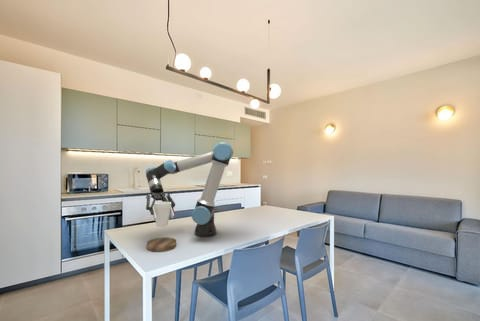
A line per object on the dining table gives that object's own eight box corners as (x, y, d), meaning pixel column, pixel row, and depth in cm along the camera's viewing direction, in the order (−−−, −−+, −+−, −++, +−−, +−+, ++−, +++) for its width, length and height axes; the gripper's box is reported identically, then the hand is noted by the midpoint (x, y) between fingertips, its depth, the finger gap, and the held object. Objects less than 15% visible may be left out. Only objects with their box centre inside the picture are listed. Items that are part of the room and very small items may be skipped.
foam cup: (153, 228, 123) (154, 204, 124) (152, 224, 132) (153, 202, 132) (171, 226, 127) (172, 203, 128) (169, 222, 136) (170, 201, 136)
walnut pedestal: (180, 243, 136) (180, 238, 136) (169, 252, 120) (169, 247, 120) (155, 241, 138) (155, 236, 138) (141, 251, 122) (141, 245, 122)
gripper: (171, 190, 149) (180, 219, 136) (135, 192, 135) (142, 224, 122) (174, 183, 145) (184, 211, 132) (138, 184, 131) (145, 216, 118)
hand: (164, 217), depth 127 cm, fingers closed on foam cup, 9 cm apart
